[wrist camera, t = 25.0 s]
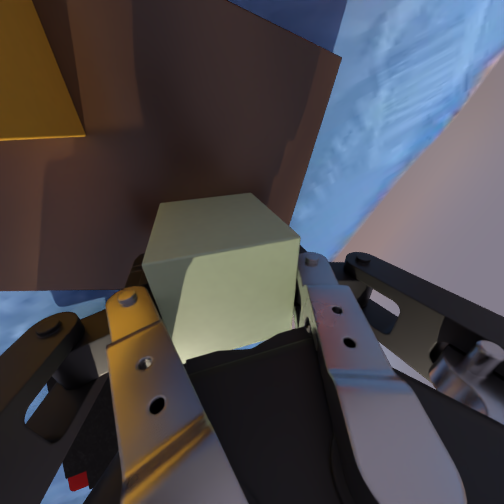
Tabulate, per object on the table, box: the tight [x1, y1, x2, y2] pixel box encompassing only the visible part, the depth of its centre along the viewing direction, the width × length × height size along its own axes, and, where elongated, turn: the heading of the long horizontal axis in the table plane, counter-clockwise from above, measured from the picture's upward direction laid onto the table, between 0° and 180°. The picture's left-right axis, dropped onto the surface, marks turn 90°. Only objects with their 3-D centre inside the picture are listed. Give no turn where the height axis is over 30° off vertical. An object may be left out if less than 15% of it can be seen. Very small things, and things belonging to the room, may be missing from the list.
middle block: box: [142, 193, 300, 364], centre depth 10 cm, size 5×5×6 cm
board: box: [0, 0, 342, 291], centre depth 10 cm, size 18×14×1 cm
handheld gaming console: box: [47, 363, 186, 491], centre depth 17 cm, size 9×12×10 cm
